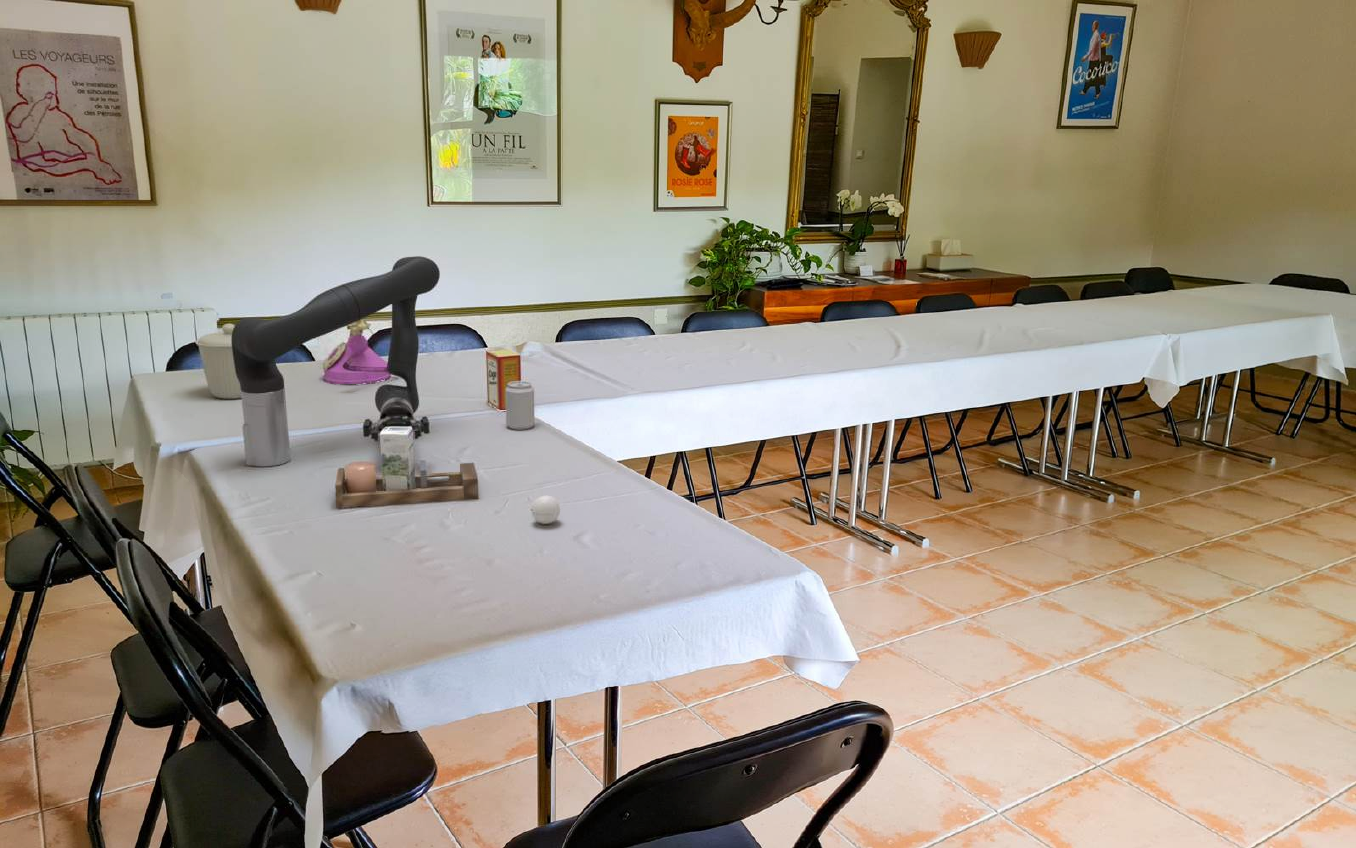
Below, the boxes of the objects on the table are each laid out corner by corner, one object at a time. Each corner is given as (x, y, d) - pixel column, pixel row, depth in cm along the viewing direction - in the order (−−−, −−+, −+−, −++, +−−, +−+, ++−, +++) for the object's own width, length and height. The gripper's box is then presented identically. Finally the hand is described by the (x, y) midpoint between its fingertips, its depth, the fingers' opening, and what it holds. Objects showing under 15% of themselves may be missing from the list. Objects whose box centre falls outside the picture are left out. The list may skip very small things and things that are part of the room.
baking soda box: (487, 404, 280) (486, 349, 276) (509, 401, 283) (507, 347, 279) (499, 412, 272) (498, 355, 268) (521, 409, 275) (520, 353, 271)
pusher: (421, 497, 203) (420, 470, 201) (421, 487, 209) (419, 460, 208) (450, 495, 205) (448, 468, 203) (448, 485, 211) (447, 458, 209)
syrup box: (416, 490, 208) (412, 425, 204) (411, 499, 203) (407, 433, 199) (389, 490, 208) (385, 425, 204) (383, 499, 202) (378, 433, 198)
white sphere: (546, 515, 196) (545, 489, 194) (566, 522, 192) (566, 496, 191) (517, 526, 190) (516, 499, 188) (537, 533, 186) (537, 506, 185)
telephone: (319, 372, 315) (312, 295, 308) (390, 367, 324) (385, 292, 318) (332, 397, 284) (325, 312, 277) (410, 391, 293) (406, 308, 287)
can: (507, 431, 253) (506, 386, 250) (504, 424, 260) (503, 380, 257) (536, 430, 255) (535, 385, 252) (532, 422, 262) (532, 379, 259)
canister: (252, 403, 275) (245, 330, 269) (189, 401, 275) (181, 328, 270) (279, 388, 292) (273, 319, 287) (219, 387, 293) (212, 317, 287)
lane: (336, 508, 197) (335, 485, 195) (340, 490, 207) (338, 468, 206) (478, 498, 204) (477, 476, 203) (474, 481, 215) (473, 460, 213)
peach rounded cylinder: (346, 503, 200) (344, 471, 198) (347, 494, 205) (345, 462, 203) (376, 501, 201) (374, 469, 199) (377, 492, 207) (375, 460, 205)
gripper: (363, 402, 225) (361, 420, 210) (427, 399, 228) (429, 417, 213) (366, 433, 227) (363, 453, 212) (428, 430, 230) (430, 450, 215)
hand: (396, 435), depth 213 cm, fingers open, 8 cm apart
